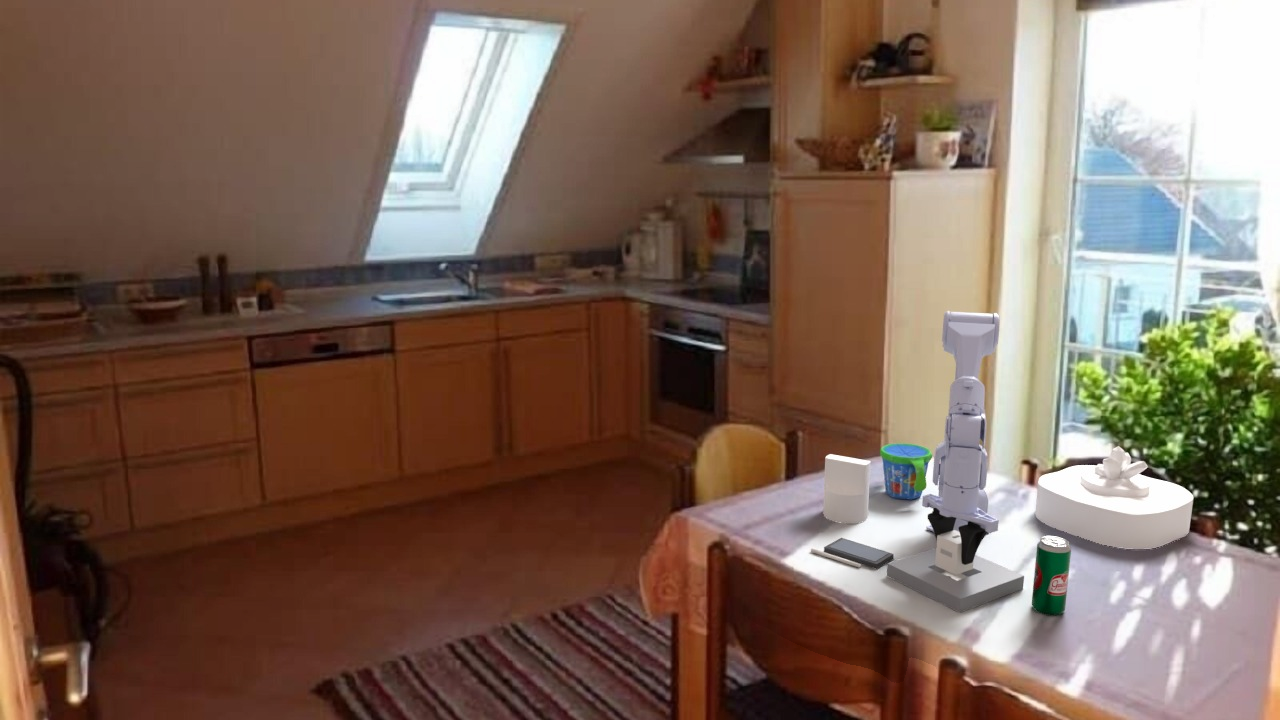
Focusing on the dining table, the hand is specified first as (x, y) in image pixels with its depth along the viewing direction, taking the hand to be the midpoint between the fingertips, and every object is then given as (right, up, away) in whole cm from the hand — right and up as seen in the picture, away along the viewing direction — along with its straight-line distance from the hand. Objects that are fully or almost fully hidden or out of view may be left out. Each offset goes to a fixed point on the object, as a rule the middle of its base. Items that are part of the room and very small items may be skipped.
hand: (955, 557), depth 167 cm
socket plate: (0, -4, +1) cm, 5 cm away
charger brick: (0, -2, 0) cm, 2 cm away
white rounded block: (-12, +2, +31) cm, 34 cm away
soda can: (+12, -7, -9) cm, 17 cm away
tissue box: (+40, +1, +28) cm, 49 cm away
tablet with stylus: (-15, -2, +12) cm, 20 cm away
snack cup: (+3, +5, +43) cm, 43 cm away
